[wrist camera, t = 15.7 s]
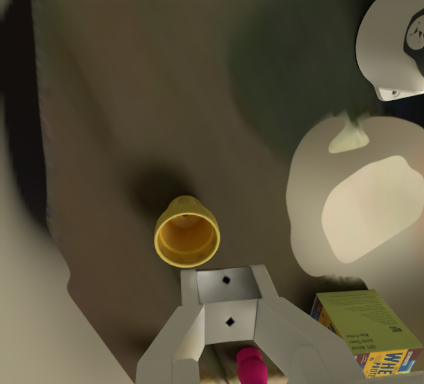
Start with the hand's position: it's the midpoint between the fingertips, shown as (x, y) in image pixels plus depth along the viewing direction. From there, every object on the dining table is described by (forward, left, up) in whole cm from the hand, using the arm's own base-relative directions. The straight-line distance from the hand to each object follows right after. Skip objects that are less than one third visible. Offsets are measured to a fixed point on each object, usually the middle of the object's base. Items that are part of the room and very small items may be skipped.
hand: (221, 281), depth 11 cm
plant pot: (0, +19, -39) cm, 44 cm away
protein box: (-37, +48, -39) cm, 72 cm away
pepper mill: (-15, +62, -39) cm, 75 cm away
